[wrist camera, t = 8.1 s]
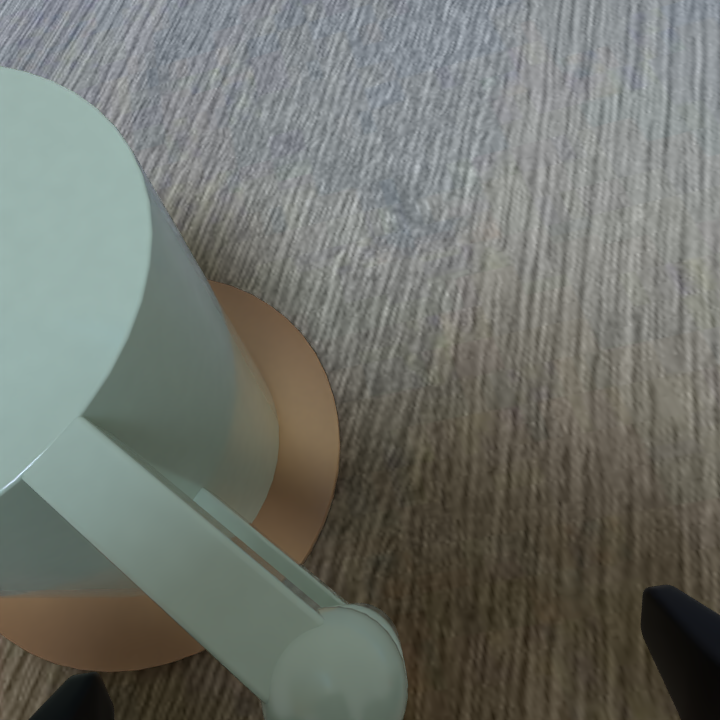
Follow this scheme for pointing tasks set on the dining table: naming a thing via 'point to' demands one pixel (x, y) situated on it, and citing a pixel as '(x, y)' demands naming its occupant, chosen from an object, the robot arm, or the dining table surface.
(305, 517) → the coaster
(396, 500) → the dining table surface
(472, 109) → the dining table surface
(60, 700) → the robot arm
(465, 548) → the dining table surface
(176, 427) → the jug
